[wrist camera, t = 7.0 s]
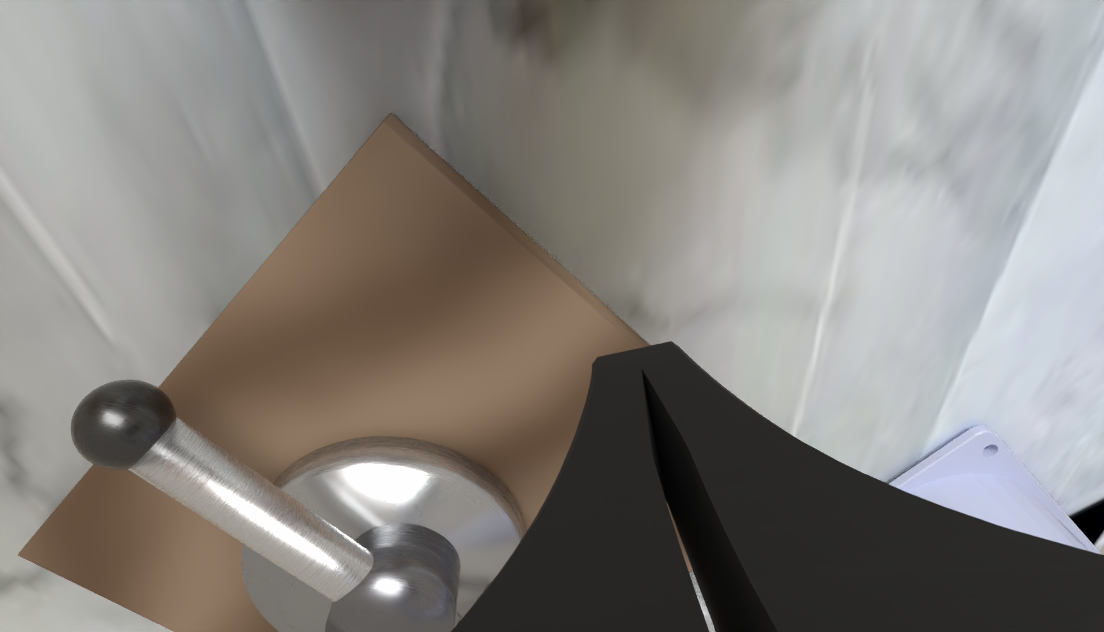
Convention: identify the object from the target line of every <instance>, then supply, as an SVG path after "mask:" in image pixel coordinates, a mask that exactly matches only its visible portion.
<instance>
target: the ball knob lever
mask: <svg viewBox="0 0 1104 632" xmlns="http://www.w3.org/2000/svg"><path fill="white" fill-rule="evenodd" d="M71 435H72V440H73V442H74V445H75V447H76V448H77V450H78V451H79V453H80V454H81V455H82V456H83V457H84V458H85V459H87V460H88V461H90V462H91V463H93V464H95V465H97V466H100V467H103V468H106V469H113V470H125V469H128V470H130V471H131V472H133V473H134V474H136V475H138V476H139V477H141V478H142V479H144V480H145V481H147V482H148V483H150V484H152V485H153V486H155V487H156V488H158V489H159V490H161V491H162V492H164V493H166V494H167V495H169V496H170V497H172V498H173V499H175V500H176V501H178V502H180V503H181V504H183V505H184V506H186V507H187V508H189V509H190V510H192V511H194V512H195V513H197V514H198V515H200V516H201V517H203V518H204V519H206V520H208V521H209V522H211V523H212V524H214V525H215V526H217V527H218V528H220V529H221V530H223V531H225V532H226V533H228V534H229V535H231V536H232V537H234V538H235V539H237V540H239V541H240V542H242V543H243V547H242V556H241V568H242V576H243V580H244V583H245V587H246V590H247V592H248V594H249V596H250V598H251V600H252V602H253V603H254V605H255V606H256V608H257V609H258V610H259V612H260V613H261V614H262V616H263V617H264V618H265V619H266V620H267V621H268V622H269V623H270V624H271V625H272V626H273V627H274V628H275V629H277V630H278V631H279V632H451V631H452V630H453V629H454V627H455V626H456V625H457V624H458V623H459V622H460V620H461V619H462V618H463V617H464V616H465V614H466V613H467V612H468V611H469V609H470V608H471V607H472V606H473V604H474V603H475V602H476V601H477V599H478V598H479V597H480V596H481V594H482V593H483V592H484V591H485V589H486V588H487V587H488V586H489V584H490V583H491V582H492V581H493V579H494V578H495V577H496V576H497V574H498V573H499V572H500V570H501V569H502V568H503V566H504V565H505V563H506V562H507V561H508V559H509V558H510V556H511V555H512V553H513V552H514V550H515V549H516V547H517V546H518V544H519V543H520V541H521V539H522V538H523V536H524V535H525V533H526V531H525V526H524V521H523V518H522V515H521V513H520V510H519V507H518V505H517V504H516V502H515V500H514V499H513V497H512V495H511V494H510V492H509V491H508V490H507V489H506V487H505V486H504V485H503V484H502V483H501V482H500V481H499V480H498V479H497V478H496V477H495V476H494V475H493V474H492V473H491V472H490V471H488V470H487V469H486V468H484V467H483V466H481V465H480V464H479V463H477V462H476V461H474V460H472V459H470V458H469V457H467V456H465V455H463V454H461V453H459V452H457V451H454V450H452V449H450V448H447V447H445V446H442V445H438V444H435V443H431V442H428V441H424V440H418V439H413V438H407V437H395V436H369V437H362V438H354V439H348V440H344V441H340V442H336V443H333V444H330V445H327V446H325V447H322V448H319V449H317V450H315V451H313V452H311V453H309V454H307V455H305V456H303V457H301V458H300V459H299V460H297V461H296V462H294V463H293V464H292V465H290V466H289V467H288V468H287V469H286V470H285V471H284V472H283V473H282V474H281V475H280V476H279V477H278V478H277V479H276V480H275V482H274V483H271V482H270V481H268V480H267V479H265V478H264V477H262V476H261V475H260V474H258V473H257V472H255V471H254V470H252V469H251V468H250V467H248V466H247V465H245V464H244V463H242V462H241V461H240V460H238V459H237V458H235V457H234V456H232V455H231V454H229V453H228V452H227V451H225V450H224V449H222V448H221V447H219V446H218V445H217V444H215V443H214V442H212V441H211V440H209V439H208V438H207V437H205V436H204V435H202V434H201V433H199V432H198V431H197V430H195V429H194V428H192V427H191V426H189V425H188V424H186V423H185V422H184V421H182V420H181V419H179V418H178V417H176V411H175V408H174V406H173V404H172V402H171V400H170V399H169V397H168V396H167V395H166V394H165V393H164V392H163V391H161V390H160V389H159V388H157V387H155V386H153V385H151V384H149V383H146V382H143V381H138V380H119V381H114V382H110V383H107V384H105V385H102V386H100V387H98V388H97V389H95V390H93V391H92V392H91V393H89V394H88V395H87V396H86V397H85V398H84V399H83V400H82V401H81V402H80V404H79V405H78V407H77V409H76V410H75V412H74V415H73V418H72V423H71Z"/></svg>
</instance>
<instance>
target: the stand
mask: <svg viewBox="0 0 1104 632" xmlns="http://www.w3.org/2000/svg"><path fill="white" fill-rule="evenodd" d="M647 346H650V345H649V344H648V343H647V342H646V341H645V340H644V339H642V338H641V337H640V336H639V335H638V334H637V333H636V332H635V331H634V330H632V329H631V328H630V327H629V326H628V325H627V324H626V323H625V322H624V321H622V320H621V319H620V318H619V317H618V316H617V315H616V314H615V313H614V312H612V311H611V310H610V309H609V308H608V307H607V306H606V305H605V304H603V303H602V302H601V301H600V300H599V299H598V298H597V297H596V296H595V295H593V294H592V293H591V292H590V291H589V290H588V289H587V288H586V287H585V286H583V285H582V284H581V283H580V282H579V281H578V280H577V279H576V278H575V277H573V276H572V275H571V274H570V273H569V272H568V271H567V270H566V269H565V268H563V267H562V266H561V265H560V264H559V263H558V262H557V261H556V260H554V259H553V258H552V257H551V256H550V255H549V254H548V253H547V252H546V251H544V250H543V249H542V248H541V247H540V246H539V245H538V244H537V243H536V242H534V241H533V240H532V239H531V238H530V237H529V236H528V235H527V234H526V233H524V232H523V231H522V230H521V229H520V228H519V227H518V226H517V225H515V224H514V223H513V222H512V221H511V220H510V219H509V218H508V217H507V216H505V215H504V214H503V213H502V212H501V211H500V210H499V209H498V208H497V207H495V206H494V205H493V204H492V203H491V202H490V201H489V200H488V199H487V198H485V197H484V196H483V195H482V194H481V193H480V192H479V191H478V190H476V189H475V188H474V187H473V186H472V185H471V184H470V183H469V182H468V181H466V180H465V179H464V178H463V177H462V176H461V175H460V174H459V173H458V172H456V171H455V170H454V169H453V168H452V167H451V166H450V165H449V164H448V163H446V162H445V161H444V160H443V159H442V158H441V157H440V156H439V155H438V154H436V153H435V152H434V151H433V150H432V149H431V148H430V147H429V146H427V145H426V144H425V143H424V142H423V141H422V140H421V139H420V138H419V137H417V136H416V135H415V134H414V133H413V132H412V131H411V130H410V129H409V128H407V127H406V126H405V125H404V124H403V123H402V122H401V121H400V120H399V119H397V118H396V117H395V116H394V115H393V114H392V113H391V114H390V115H389V116H388V117H387V118H386V119H385V120H384V121H383V122H382V123H381V125H380V126H379V127H378V128H377V129H376V131H375V132H374V133H373V134H372V135H371V137H370V138H369V139H368V140H367V141H366V142H365V144H364V145H363V146H362V147H361V148H360V150H359V151H358V152H357V153H356V154H355V155H354V157H353V158H352V159H351V160H350V161H349V163H348V164H347V165H346V166H345V167H344V169H343V170H342V171H341V172H340V173H339V174H338V176H337V177H336V178H335V179H334V180H333V182H332V183H331V184H330V185H329V186H328V187H327V189H326V190H325V191H324V192H323V193H322V195H321V196H320V197H319V198H318V199H317V200H316V202H315V203H314V204H313V205H312V206H311V208H310V209H309V210H308V211H307V212H306V214H305V215H304V216H303V217H302V218H301V219H300V221H299V222H298V223H297V224H296V225H295V227H294V228H293V229H292V230H291V231H290V232H289V234H288V235H287V236H286V237H285V238H284V240H283V241H282V242H281V243H280V244H279V246H278V247H277V248H276V249H275V250H274V251H273V253H272V254H271V255H270V256H269V257H268V259H267V260H266V261H265V262H264V263H263V264H262V266H261V267H260V268H259V269H258V270H257V272H256V273H255V274H254V275H253V276H252V277H251V279H250V280H249V281H248V282H247V283H246V285H245V286H244V287H243V288H242V289H241V291H240V292H239V293H238V294H237V295H236V296H235V298H234V299H233V300H232V301H231V302H230V304H229V305H228V306H227V307H226V308H225V309H224V311H223V312H222V313H221V314H220V315H219V317H218V318H217V319H216V320H215V321H214V323H213V324H212V325H211V326H210V327H209V328H208V330H207V331H206V332H205V333H204V334H203V336H202V337H201V338H200V339H199V340H198V341H197V343H196V344H195V345H194V346H193V347H192V349H191V350H190V351H189V352H188V353H187V354H186V356H185V357H184V358H183V359H182V360H181V362H180V363H179V364H178V365H177V366H176V368H175V369H174V370H173V371H172V372H171V373H170V375H169V376H168V377H167V378H166V379H165V381H164V382H163V383H162V384H161V385H160V386H159V389H160V390H161V391H163V392H164V393H165V394H166V395H167V396H168V397H169V399H170V400H171V402H172V404H173V406H174V408H175V411H176V417H178V418H179V419H181V420H182V421H184V422H185V423H186V424H188V425H189V426H191V427H192V428H194V429H195V430H197V431H198V432H199V433H201V434H202V435H204V436H205V437H207V438H208V439H209V440H211V441H212V442H214V443H215V444H217V445H218V446H219V447H221V448H222V449H224V450H225V451H227V452H228V453H229V454H231V455H232V456H234V457H235V458H237V459H238V460H240V461H241V462H242V463H244V464H245V465H247V466H248V467H250V468H251V469H252V470H254V471H255V472H257V473H258V474H260V475H261V476H262V477H264V478H265V479H267V480H268V481H270V482H271V483H274V482H275V480H276V479H277V478H278V477H279V476H280V475H281V474H282V473H283V472H284V471H285V470H286V469H287V468H288V467H289V466H290V465H292V464H293V463H294V462H296V461H297V460H299V459H300V458H301V457H303V456H305V455H307V454H309V453H311V452H313V451H315V450H317V449H319V448H322V447H325V446H327V445H330V444H333V443H336V442H340V441H344V440H348V439H354V438H362V437H369V436H395V437H407V438H413V439H418V440H424V441H428V442H431V443H435V444H438V445H442V446H445V447H447V448H450V449H452V450H454V451H457V452H459V453H461V454H463V455H465V456H467V457H469V458H470V459H472V460H474V461H476V462H477V463H479V464H480V465H481V466H483V467H484V468H486V469H487V470H488V471H490V472H491V473H492V474H493V475H494V476H495V477H496V478H497V479H498V480H499V481H500V482H501V483H502V484H503V485H504V486H505V487H506V489H507V490H508V491H509V492H510V494H511V495H512V497H513V499H514V500H515V502H516V504H517V505H518V507H519V510H520V513H521V515H522V518H523V521H524V526H525V531H526V532H527V530H528V529H529V527H530V525H531V524H532V522H533V521H534V519H535V517H536V516H537V514H538V512H539V510H540V508H541V507H542V505H543V503H544V501H545V500H546V498H547V496H548V494H549V492H550V490H551V488H552V486H553V484H554V482H555V480H556V478H557V476H558V474H559V472H560V469H561V467H562V465H563V462H564V460H565V458H566V455H567V453H568V450H569V448H570V446H571V443H572V441H573V438H574V436H575V433H576V430H577V427H578V424H579V421H580V418H581V415H582V412H583V409H584V406H585V402H586V398H587V394H588V390H589V386H590V381H591V374H592V364H593V362H594V361H595V360H596V358H597V357H600V356H604V355H609V354H614V353H619V352H623V351H628V350H633V349H637V348H642V347H647ZM667 506H668V503H667ZM668 509H669V506H668ZM669 512H670V515H671V519H672V522H673V525H674V528H675V531H676V534H677V538H678V541H679V544H680V547H681V550H682V553H683V556H684V559H685V562H686V565H687V568H688V571H689V572H691V571H692V570H693V569H692V567H691V564H690V561H689V559H688V556H687V554H686V551H685V548H684V546H683V543H682V541H681V538H680V535H679V533H678V530H677V527H676V525H675V522H674V519H673V517H672V514H671V511H670V509H669ZM242 547H243V543H242V542H240V541H239V540H237V539H235V538H234V537H232V536H231V535H229V534H228V533H226V532H225V531H223V530H221V529H220V528H218V527H217V526H215V525H214V524H212V523H211V522H209V521H208V520H206V519H204V518H203V517H201V516H200V515H198V514H197V513H195V512H194V511H192V510H190V509H189V508H187V507H186V506H184V505H183V504H181V503H180V502H178V501H176V500H175V499H173V498H172V497H170V496H169V495H167V494H166V493H164V492H162V491H161V490H159V489H158V488H156V487H155V486H153V485H152V484H150V483H148V482H147V481H145V480H144V479H142V478H141V477H139V476H138V475H136V474H134V473H133V472H131V471H130V470H128V469H125V470H113V469H106V468H103V467H100V466H97V465H95V464H94V465H93V466H92V467H91V468H90V469H89V471H88V472H87V473H86V474H85V475H84V477H83V478H82V479H81V480H80V481H79V482H78V484H77V485H76V486H75V487H74V488H73V490H72V491H71V492H70V493H69V494H68V495H67V497H66V498H65V499H64V500H63V501H62V503H61V504H60V505H59V506H58V507H57V508H56V510H55V511H54V512H53V513H52V514H51V516H50V517H49V518H48V519H47V520H46V522H45V523H44V524H43V525H42V526H41V527H40V529H39V530H38V531H37V532H36V533H35V535H34V536H33V537H32V538H31V539H30V540H29V542H28V543H27V544H26V545H25V546H24V548H23V549H22V550H21V551H20V552H19V554H18V556H20V557H22V558H24V559H27V560H29V561H31V562H33V563H35V564H37V565H39V566H41V567H43V568H45V569H47V570H49V571H51V572H53V573H55V574H57V575H59V576H61V577H63V578H65V579H67V580H70V581H72V582H74V583H76V584H78V585H80V586H82V587H84V588H86V589H88V590H90V591H92V592H94V593H96V594H98V595H100V596H102V597H104V598H106V599H108V600H110V601H112V602H115V603H117V604H119V605H121V606H123V607H125V608H127V609H129V610H131V611H133V612H135V613H137V614H139V615H141V616H143V617H145V618H147V619H149V620H151V621H153V622H155V623H158V624H160V625H162V626H164V627H166V628H168V629H170V630H172V631H174V632H279V631H278V630H277V629H275V628H274V627H273V626H272V625H271V624H270V623H269V622H268V621H267V620H266V619H265V618H264V617H263V616H262V614H261V613H260V612H259V610H258V609H257V608H256V606H255V605H254V603H253V602H252V600H251V598H250V596H249V594H248V592H247V590H246V587H245V583H244V580H243V576H242V568H241V556H242Z"/></svg>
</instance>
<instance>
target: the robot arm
mask: <svg viewBox="0 0 1104 632" xmlns="http://www.w3.org/2000/svg"><path fill="white" fill-rule="evenodd" d="M987 446H988V447H987ZM986 447H987V448H986ZM667 503H668V506H669V509H670V511H671V514H672V517H673V519H674V522H675V525H676V527H677V530H678V533H679V535H680V538H681V541H682V543H683V546H684V548H685V551H686V554H687V556H688V559H689V561H690V564H691V567H692V569H693V572H694V575H695V577H696V580H697V582H698V585H699V588H700V590H701V593H702V596H703V598H704V601H705V603H706V606H707V609H708V611H709V614H710V616H711V619H712V622H713V625H714V628H715V631H716V632H1104V555H1101V553H1100V552H1099V551H1098V550H1097V549H1096V547H1095V546H1094V545H1093V544H1092V543H1091V542H1090V541H1089V539H1088V538H1087V537H1086V536H1085V535H1084V534H1083V533H1082V531H1081V530H1080V529H1079V528H1078V527H1077V526H1076V525H1075V523H1074V522H1073V521H1072V520H1071V519H1070V518H1069V517H1068V516H1067V514H1066V513H1065V512H1064V511H1063V510H1062V509H1061V508H1060V506H1059V505H1058V504H1057V503H1056V502H1055V501H1054V500H1053V498H1052V497H1051V496H1050V495H1049V494H1048V493H1047V492H1046V490H1045V489H1044V488H1043V487H1042V486H1041V485H1040V484H1039V483H1038V481H1037V480H1036V479H1035V478H1034V477H1033V476H1032V475H1031V473H1030V472H1029V471H1028V470H1027V469H1026V468H1025V467H1024V465H1023V464H1022V463H1021V462H1020V461H1019V460H1018V459H1017V457H1016V456H1015V455H1014V454H1013V453H1012V452H1011V451H1010V450H1009V448H1008V447H1007V446H1006V445H1005V444H1004V443H1003V442H1002V440H1001V439H1000V438H999V437H998V436H997V435H996V434H995V433H994V432H993V431H992V430H991V429H990V428H989V427H987V426H984V425H979V426H975V427H973V428H971V429H969V430H967V431H966V432H965V433H963V434H962V435H960V436H959V437H957V438H956V439H954V440H953V441H951V442H950V443H948V444H947V445H945V446H944V447H942V448H941V449H939V450H938V451H936V452H935V453H933V454H932V455H930V456H929V457H928V458H926V459H925V460H923V461H922V462H920V463H919V464H917V465H916V466H914V467H913V468H911V469H910V470H908V471H907V472H905V473H904V474H902V475H901V476H899V477H898V478H896V479H895V480H893V481H892V482H891V483H889V484H887V483H885V482H882V481H880V480H878V479H875V478H873V477H871V476H869V475H866V474H864V473H862V472H860V471H858V470H856V469H853V468H851V467H849V466H847V465H845V464H843V463H841V462H839V461H837V460H835V459H833V458H831V457H830V456H828V455H826V454H824V453H822V452H820V451H819V450H817V449H815V448H813V447H811V446H809V445H807V444H806V443H804V442H802V441H800V440H799V439H797V438H795V437H794V436H792V435H791V434H789V433H787V432H786V431H784V430H783V429H781V428H780V427H778V426H777V425H775V424H774V423H772V422H771V421H769V420H768V419H766V418H765V417H763V416H762V415H760V414H759V413H758V412H756V411H755V410H753V409H752V408H751V407H749V406H748V405H747V404H745V403H744V402H743V401H741V400H740V399H739V398H737V397H736V396H735V395H734V394H732V393H731V392H730V391H728V390H727V389H726V388H724V387H723V386H722V385H721V384H720V383H718V382H717V381H716V380H715V379H714V378H712V377H711V376H710V375H709V374H708V373H707V372H705V371H704V370H703V369H702V368H701V367H700V366H699V365H698V364H696V363H695V362H694V361H693V360H692V359H691V358H690V357H689V356H688V355H687V354H686V353H685V352H684V351H683V350H682V349H681V348H680V347H679V346H677V345H676V344H674V343H673V342H671V341H670V342H666V343H661V344H656V345H652V346H647V347H642V348H637V349H633V350H628V351H623V352H619V353H614V354H609V355H604V356H600V357H597V358H596V360H595V361H594V362H593V364H592V374H591V381H590V386H589V390H588V394H587V398H586V402H585V406H584V409H583V412H582V415H581V418H580V421H579V424H578V427H577V430H576V433H575V436H574V438H573V441H572V443H571V446H570V448H569V450H568V453H567V455H566V458H565V460H564V462H563V465H562V467H561V469H560V472H559V474H558V476H557V478H556V480H555V482H554V484H553V486H552V488H551V490H550V492H549V494H548V496H547V498H546V500H545V501H544V503H543V505H542V507H541V508H540V510H539V512H538V514H537V516H536V517H535V519H534V521H533V522H532V524H531V525H530V527H529V529H528V530H527V532H526V533H525V535H524V536H523V538H522V539H521V541H520V543H519V544H518V546H517V547H516V549H515V550H514V552H513V553H512V555H511V556H510V558H509V559H508V561H507V562H506V563H505V565H504V566H503V568H502V569H501V570H500V572H499V573H498V574H497V576H496V577H495V578H494V579H493V581H492V582H491V583H490V584H489V586H488V587H487V588H486V589H485V591H484V592H483V593H482V594H481V596H480V597H479V598H478V599H477V601H476V602H475V603H474V604H473V606H472V607H471V608H470V609H469V611H468V612H467V613H466V614H465V616H464V617H463V618H462V619H461V620H460V622H459V623H458V624H457V625H456V626H455V627H454V629H453V630H452V631H451V632H709V630H708V627H707V624H706V621H705V618H704V615H703V612H702V610H701V607H700V604H699V601H698V598H697V595H696V592H695V589H694V586H693V583H692V580H691V577H690V574H689V571H688V568H687V565H686V562H685V559H684V556H683V553H682V550H681V547H680V544H679V541H678V538H677V534H676V531H675V528H674V525H673V522H672V519H671V515H670V512H669V509H668V506H667Z"/></svg>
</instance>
